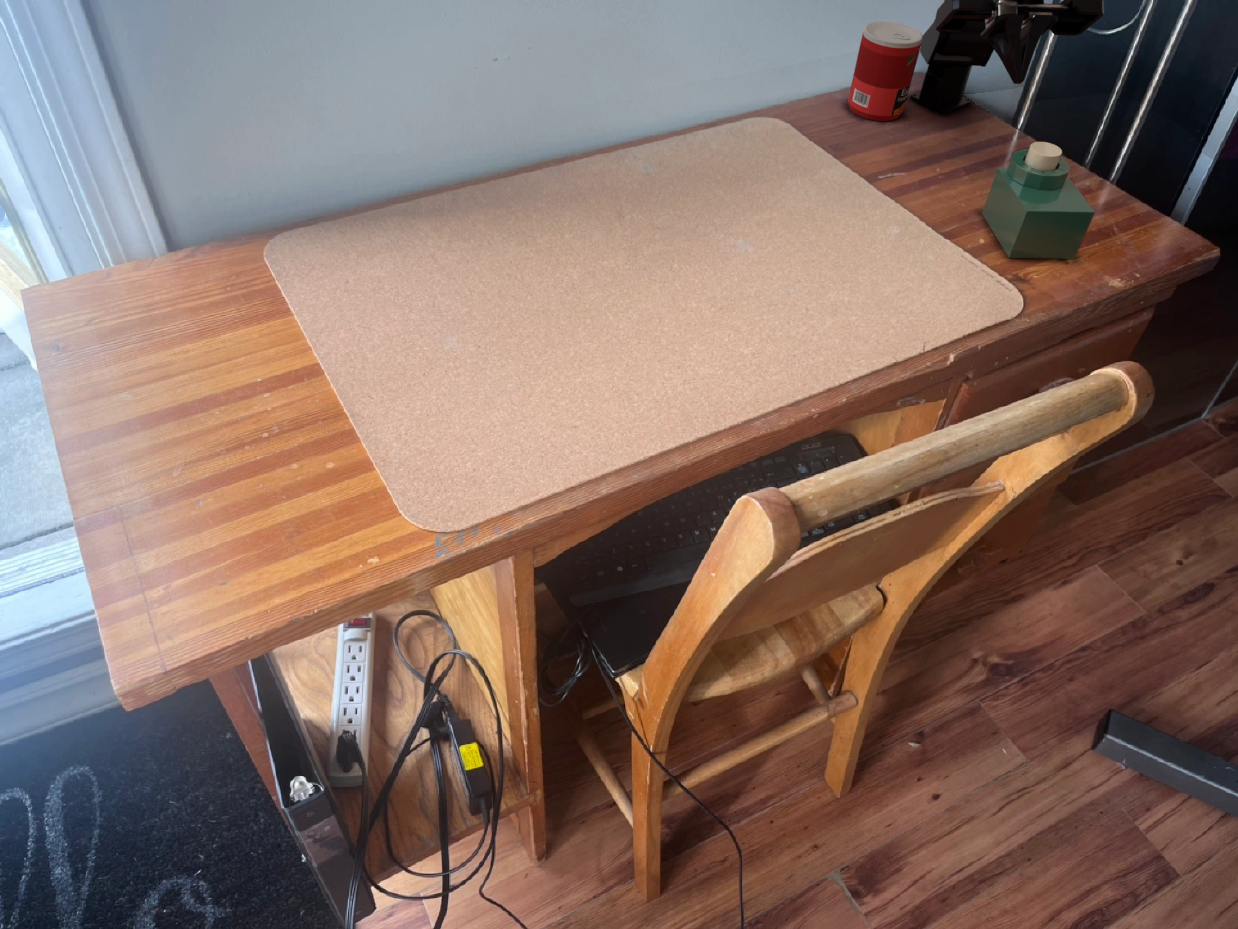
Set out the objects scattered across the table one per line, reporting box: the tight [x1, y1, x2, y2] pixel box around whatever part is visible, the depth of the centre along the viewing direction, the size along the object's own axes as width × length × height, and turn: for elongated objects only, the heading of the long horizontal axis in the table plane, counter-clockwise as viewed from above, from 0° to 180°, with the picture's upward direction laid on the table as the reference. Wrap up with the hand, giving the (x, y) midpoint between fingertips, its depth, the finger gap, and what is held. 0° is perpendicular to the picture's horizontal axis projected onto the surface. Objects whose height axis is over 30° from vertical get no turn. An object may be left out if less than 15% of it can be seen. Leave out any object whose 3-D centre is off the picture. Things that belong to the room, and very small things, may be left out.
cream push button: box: [1024, 141, 1063, 171], centre depth 114 cm, size 4×4×2 cm
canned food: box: [847, 21, 923, 122], centre depth 137 cm, size 8×8×11 cm
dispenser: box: [981, 148, 1096, 260], centre depth 116 cm, size 11×8×8 cm
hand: (1018, 82), depth 119 cm, fingers closed
